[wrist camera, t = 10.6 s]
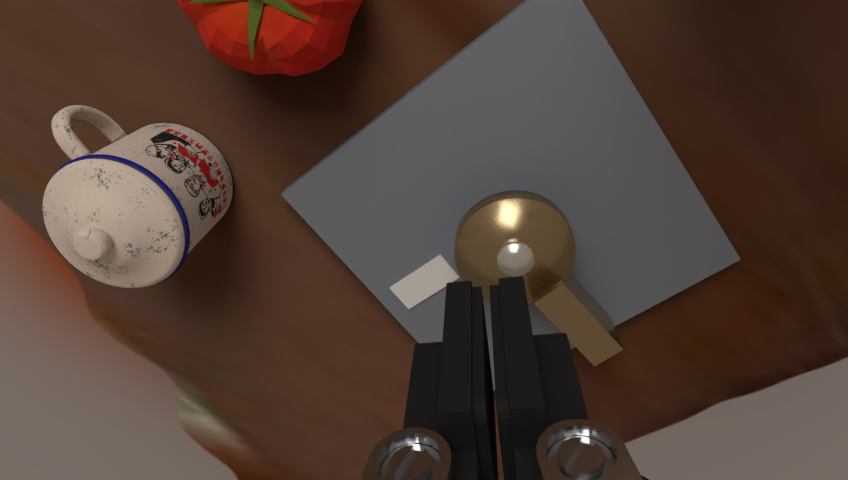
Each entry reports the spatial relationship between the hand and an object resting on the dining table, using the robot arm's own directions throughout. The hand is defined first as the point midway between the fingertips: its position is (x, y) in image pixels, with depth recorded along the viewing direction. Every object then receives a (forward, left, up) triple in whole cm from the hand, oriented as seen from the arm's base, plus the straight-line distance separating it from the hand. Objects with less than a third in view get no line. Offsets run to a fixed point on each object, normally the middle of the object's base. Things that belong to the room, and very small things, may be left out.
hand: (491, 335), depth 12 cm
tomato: (+6, -12, -29) cm, 32 cm away
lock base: (+4, +10, -29) cm, 31 cm away
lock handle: (+4, +13, -27) cm, 30 cm away
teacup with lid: (+22, -9, -29) cm, 38 cm away
